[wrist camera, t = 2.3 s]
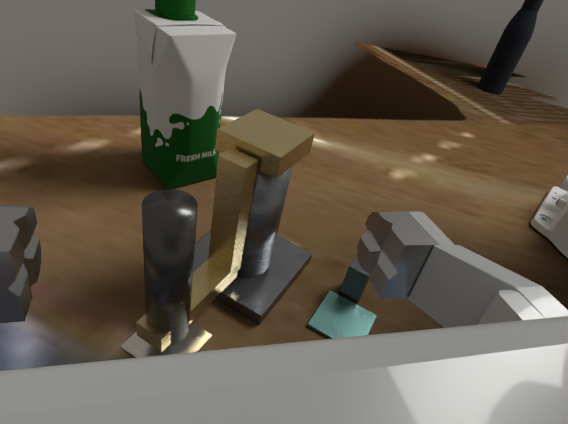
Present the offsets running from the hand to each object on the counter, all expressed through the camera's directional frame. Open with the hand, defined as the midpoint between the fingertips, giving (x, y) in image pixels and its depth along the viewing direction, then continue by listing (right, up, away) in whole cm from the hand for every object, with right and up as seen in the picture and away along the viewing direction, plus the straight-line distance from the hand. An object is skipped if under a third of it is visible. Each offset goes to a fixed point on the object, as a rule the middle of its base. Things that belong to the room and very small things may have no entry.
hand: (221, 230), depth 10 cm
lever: (-5, -6, +26) cm, 27 cm away
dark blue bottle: (+56, +33, +98) cm, 118 cm away
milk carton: (-12, +6, +42) cm, 44 cm away
